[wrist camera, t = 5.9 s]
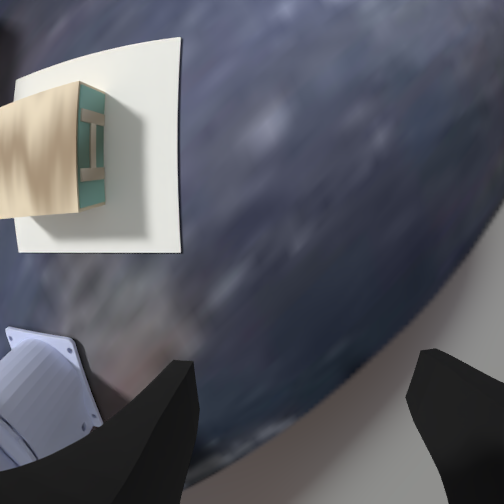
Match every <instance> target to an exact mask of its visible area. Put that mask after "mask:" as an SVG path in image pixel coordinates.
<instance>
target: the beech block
mask: <svg viewBox="0 0 504 504" xmlns="http://www.w3.org/2000/svg"><path fill="white" fill-rule="evenodd" d="M104 107H105V92H104V91H101V90H99V89H97V88H95V87H93V86H90V85H88V84H86V83H83V82H81V81H76V82H72V83H69V84H65V85H62V86H58V87H55V88H52V89H49V90H46V91H42V92H39V93H37V94H34V95H31V96H28V97H25V98H23V99H20V100H17V101H15V102H12V103H10V104H7V105H5V106H2V107H0V219H6V218H16V217H27V216H39V215H51V214H65V213H79V212H82V211H85V210H89V209H92V208H95V207H99V206H102V205H105V187H104V179H105V167H104V126H105V115H104Z"/></svg>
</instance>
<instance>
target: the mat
mask: <svg viewBox="0 0 504 504" xmlns="http://www.w3.org/2000/svg"><path fill="white" fill-rule="evenodd" d="M180 47H181V37H177V38H169V39H162V40H155V41H149V42H143V43H138V44H133V45H128V46H123V47H118V48H114V49H109V50H105V51H101V52H97V53H93V54H90V55H86V56H83V57H79V58H76V59H72V60H69V61H66V62H63V63H60V64H57V65H54V66H51V67H48V68H45V69H43V70H40V71H37V72H35V73H32V74H30V75H27V76H25V77H22V78H20V79H17V80H16V85H15V93H14V102H15V101H17V100H20V99H23V98H25V97H28V96H31V95H34V94H37V93H39V92H42V91H46V90H49V89H52V88H55V87H58V86H62V85H65V84H69V83H72V82H76V81H81V82H83V83H86V84H88V85H90V86H93V87H95V88H97V89H99V90H101V91H104V92H105V107H104V115H105V126H104V167H105V179H104V187H105V205H102V206H99V207H95V208H92V209H89V210H85V211H82V212H79V213H65V214H51V215H39V216H27V217H16V218H14V220H15V228H16V236H17V243H18V250H19V253H181V243H180V223H179V198H178V89H179V65H180Z"/></svg>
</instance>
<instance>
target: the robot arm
mask: <svg viewBox="0 0 504 504" xmlns="http://www.w3.org/2000/svg"><path fill="white" fill-rule="evenodd" d="M5 331H6V335H7V338H8V341H9V344H10V346H11V349H12V350H11V351H10V352H9V353H8V354H7V355H6V356H5V357H4V358H3V359H2V360H0V504H180V499H181V495H182V490H183V487H184V483H185V479H186V475H187V471H188V467H189V464H190V460H191V456H192V452H193V448H194V444H195V440H196V436H197V428H198V420H199V411H200V408H199V401H198V394H197V387H196V379H195V371H194V363H193V361H180V360H173V361H172V362H171V363H170V364H169V365H168V366H167V367H166V368H165V369H164V370H163V371H162V372H161V373H160V374H159V375H158V376H157V377H156V378H155V379H154V380H153V381H152V382H151V383H150V384H149V385H148V386H147V387H146V388H145V389H144V390H143V391H142V392H141V393H140V394H138V395H137V396H136V397H135V398H134V399H133V400H132V401H131V402H130V403H129V404H128V405H126V406H125V407H124V408H123V409H122V410H120V411H119V412H118V413H117V414H116V415H114V416H113V417H112V418H111V419H109V420H108V421H107V422H105V423H104V424H103V421H102V418H101V416H100V413H99V411H98V408H97V406H96V403H95V401H94V398H93V395H92V393H91V390H90V387H89V384H88V382H87V379H86V376H85V373H84V370H83V367H82V364H81V360H80V357H79V354H78V351H77V347H76V344H75V342H74V340H73V339H71V338H69V337H63V336H57V335H51V334H45V333H39V332H34V331H29V330H24V329H19V328H14V327H7V328H6V330H5ZM71 349H72V350H71ZM406 400H407V404H408V407H409V410H410V413H411V415H412V418H413V421H414V423H415V425H416V427H417V429H418V431H419V433H420V435H421V437H422V439H423V441H424V443H425V445H426V447H427V449H428V451H429V452H430V455H431V456H432V459H433V460H434V463H435V464H436V467H437V469H438V471H439V474H440V476H441V479H442V482H443V485H444V488H445V491H446V495H447V498H448V503H449V504H504V383H503V382H500V381H498V380H496V379H494V378H492V377H490V376H488V375H486V374H484V373H483V372H481V371H479V370H477V369H475V368H473V367H471V366H469V365H468V364H466V363H464V362H462V361H460V360H458V359H456V358H455V357H453V356H451V355H449V354H447V353H445V352H443V351H440V350H438V349H429V350H422V351H420V355H419V358H418V362H417V365H416V368H415V371H414V374H413V377H412V380H411V383H410V386H409V389H408V392H407V394H406ZM93 426H96V427H99V428H97V429H96V430H94V431H93V432H91V433H90V431H91V429H92V427H93Z"/></svg>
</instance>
